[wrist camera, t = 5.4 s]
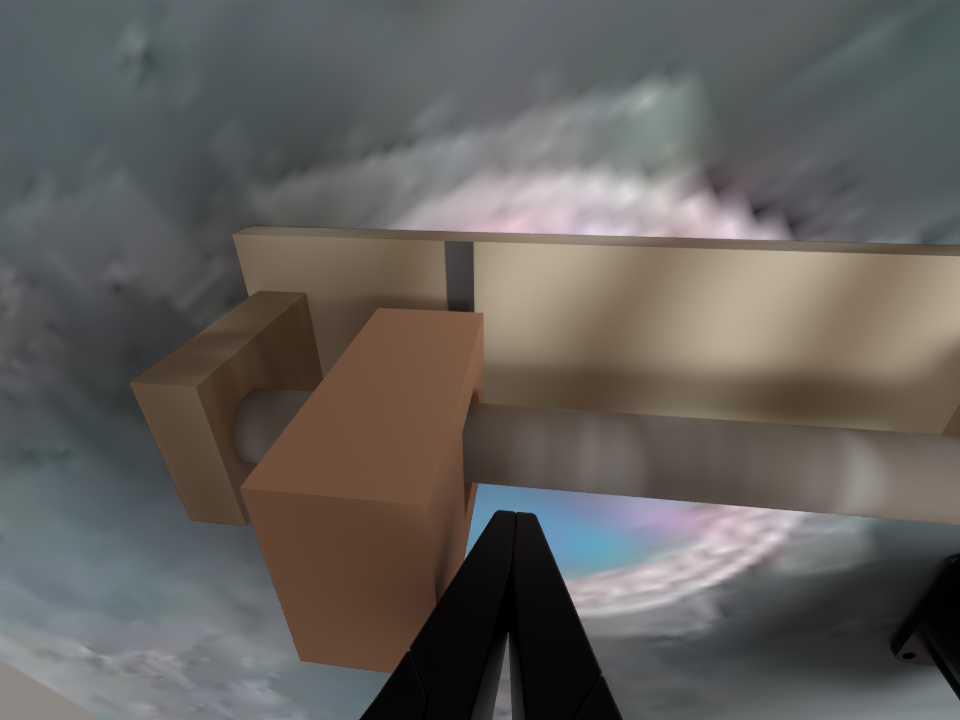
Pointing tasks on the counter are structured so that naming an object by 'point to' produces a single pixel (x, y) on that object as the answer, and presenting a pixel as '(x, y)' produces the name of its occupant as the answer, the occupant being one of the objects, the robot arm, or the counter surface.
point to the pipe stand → (605, 365)
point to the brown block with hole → (373, 489)
